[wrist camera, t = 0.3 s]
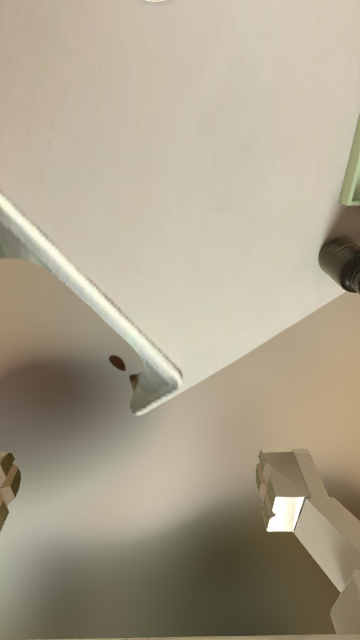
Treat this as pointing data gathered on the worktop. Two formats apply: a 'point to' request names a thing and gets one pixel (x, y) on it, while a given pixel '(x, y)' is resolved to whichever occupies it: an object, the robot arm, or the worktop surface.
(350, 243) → the supplement bottle
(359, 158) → the tray
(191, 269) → the worktop surface
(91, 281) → the worktop surface
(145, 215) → the worktop surface
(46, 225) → the worktop surface
